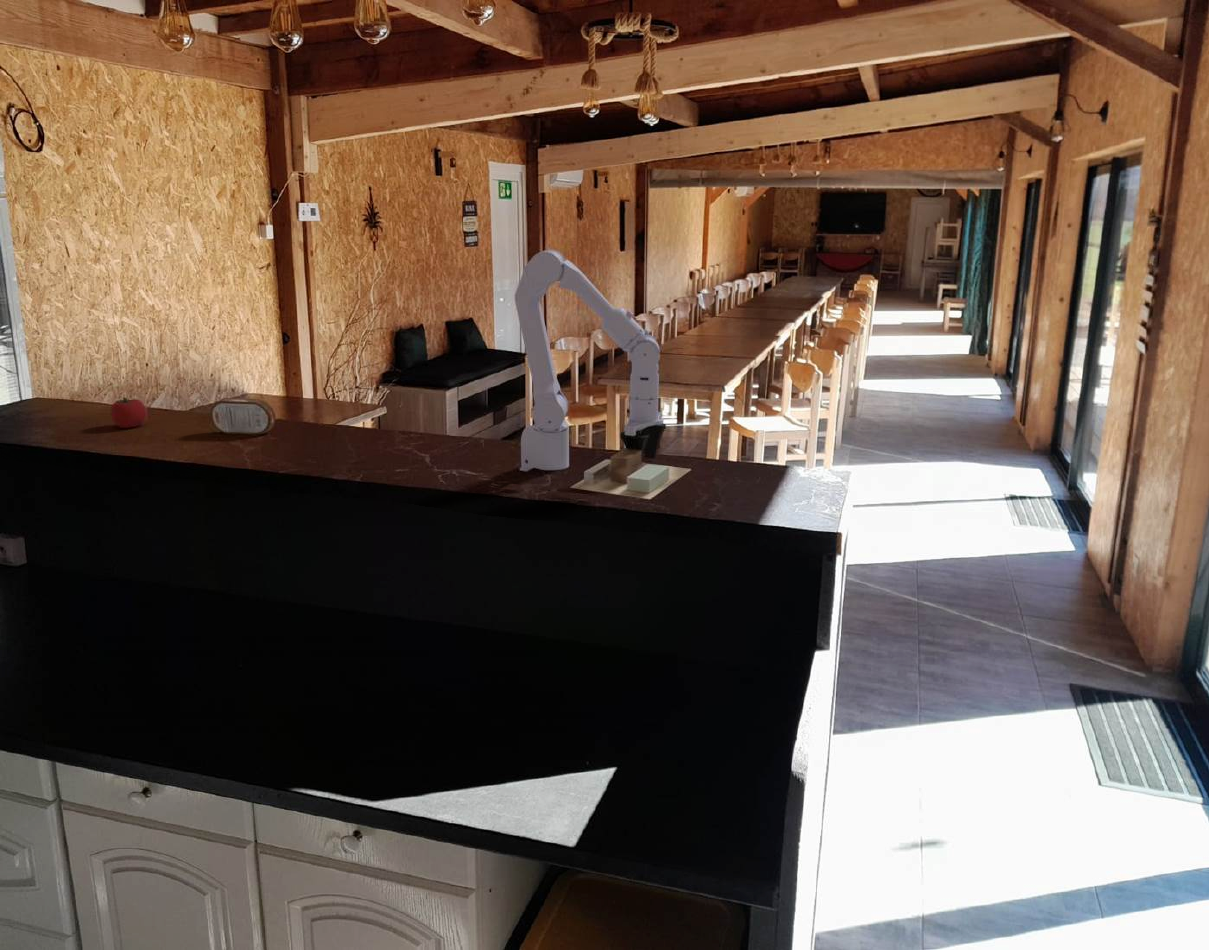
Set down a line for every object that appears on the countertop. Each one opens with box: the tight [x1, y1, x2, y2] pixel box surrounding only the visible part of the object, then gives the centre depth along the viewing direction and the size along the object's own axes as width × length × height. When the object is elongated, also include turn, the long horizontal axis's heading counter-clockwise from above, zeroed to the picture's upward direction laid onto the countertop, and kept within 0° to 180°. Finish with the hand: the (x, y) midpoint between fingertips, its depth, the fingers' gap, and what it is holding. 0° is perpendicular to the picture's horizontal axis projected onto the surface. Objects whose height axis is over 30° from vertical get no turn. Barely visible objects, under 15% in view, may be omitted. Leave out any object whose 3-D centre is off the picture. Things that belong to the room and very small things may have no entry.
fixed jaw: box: [583, 458, 611, 486], centre depth 185 cm, size 2×10×2 cm, turn 155°
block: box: [610, 447, 642, 484], centre depth 184 cm, size 4×7×5 cm, turn 155°
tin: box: [210, 397, 276, 436], centre depth 221 cm, size 15×3×8 cm, turn 84°
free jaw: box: [627, 463, 669, 493], centre depth 180 cm, size 5×10×2 cm, turn 155°
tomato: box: [110, 397, 149, 429], centre depth 228 cm, size 8×8×7 cm
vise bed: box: [569, 462, 692, 502], centre depth 185 cm, size 16×22×1 cm
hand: (643, 462), depth 192 cm, fingers open, 7 cm apart
